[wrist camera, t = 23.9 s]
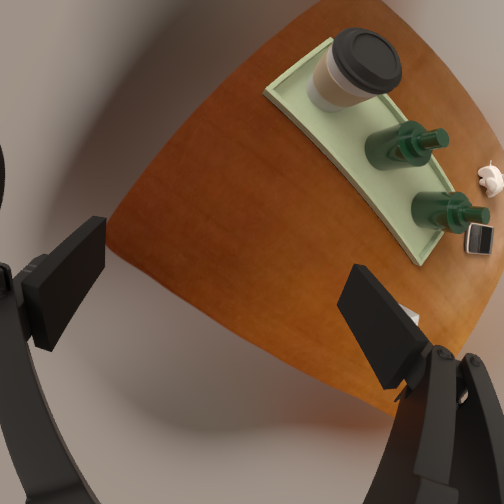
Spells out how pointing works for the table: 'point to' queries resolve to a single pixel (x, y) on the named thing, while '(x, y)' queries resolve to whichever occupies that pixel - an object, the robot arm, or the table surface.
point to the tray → (362, 153)
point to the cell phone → (479, 239)
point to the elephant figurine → (491, 180)
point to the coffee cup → (354, 70)
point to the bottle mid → (403, 146)
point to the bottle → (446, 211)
